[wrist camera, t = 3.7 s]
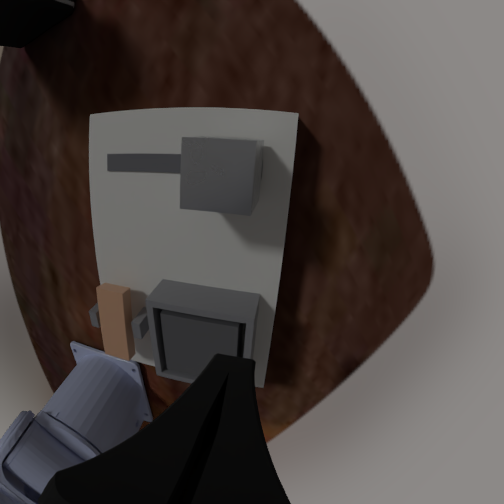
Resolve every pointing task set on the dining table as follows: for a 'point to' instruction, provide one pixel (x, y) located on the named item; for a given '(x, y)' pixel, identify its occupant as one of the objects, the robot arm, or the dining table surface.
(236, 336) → the push button
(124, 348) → the rocker switch
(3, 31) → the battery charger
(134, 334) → the control panel
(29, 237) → the dining table surface
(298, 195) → the dining table surface
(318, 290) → the dining table surface
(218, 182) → the slider knob
